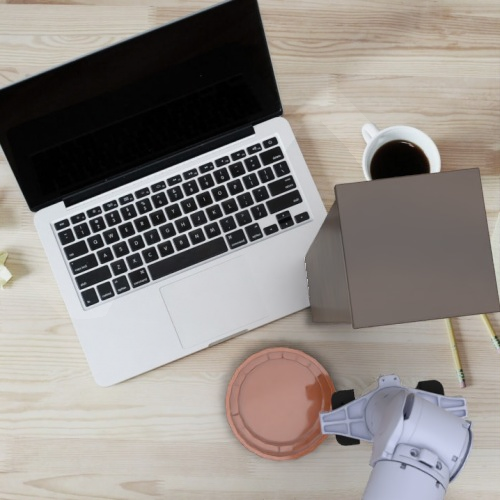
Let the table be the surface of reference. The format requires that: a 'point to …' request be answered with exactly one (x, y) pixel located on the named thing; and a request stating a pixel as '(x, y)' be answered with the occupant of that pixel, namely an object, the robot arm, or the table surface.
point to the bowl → (279, 403)
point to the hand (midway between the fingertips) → (380, 404)
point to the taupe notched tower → (403, 252)
